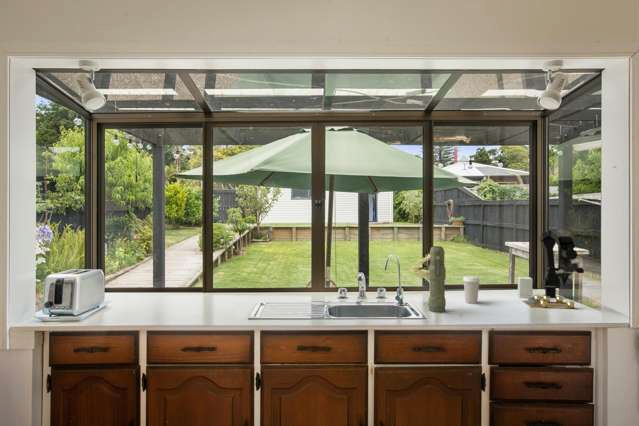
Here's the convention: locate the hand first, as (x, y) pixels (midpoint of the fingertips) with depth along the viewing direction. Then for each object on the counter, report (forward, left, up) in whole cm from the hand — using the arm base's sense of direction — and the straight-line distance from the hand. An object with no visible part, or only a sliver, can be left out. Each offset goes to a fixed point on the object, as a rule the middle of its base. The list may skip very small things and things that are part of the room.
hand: (563, 284), depth 231 cm
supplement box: (-16, -16, -12) cm, 26 cm away
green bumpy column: (+25, -73, -12) cm, 78 cm away
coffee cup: (+2, -51, -12) cm, 52 cm away
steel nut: (+3, -17, -11) cm, 21 cm away
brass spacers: (+3, -7, -11) cm, 14 cm away
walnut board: (+3, -9, -12) cm, 15 cm away
